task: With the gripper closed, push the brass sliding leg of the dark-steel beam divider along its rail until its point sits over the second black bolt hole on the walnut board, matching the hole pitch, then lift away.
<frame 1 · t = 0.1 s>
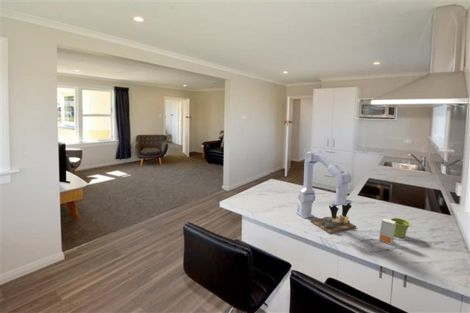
hand: (338, 217, 146), 10 cm above the countertop, fingers open, 7 cm apart
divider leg: (342, 219, 158), point 4 cm above the countertop, slide at 4.0 cm
plant pot: (398, 236, 147), on the countertop
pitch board: (332, 225, 159), on the countertop
skincare box: (385, 241, 141), on the countertop
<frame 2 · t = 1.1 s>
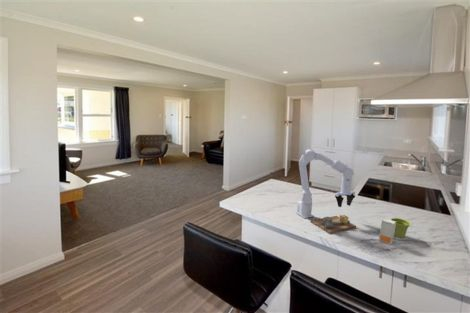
hand: (344, 205, 165), 9 cm above the countertop, fingers open, 7 cm apart
nothing on the countertop moved.
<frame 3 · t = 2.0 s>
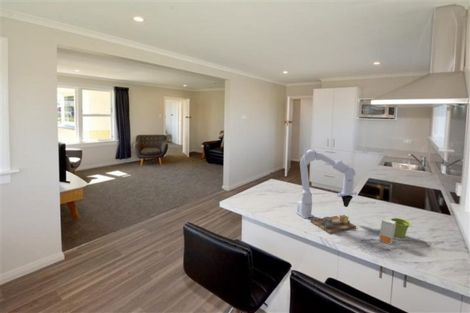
hand: (345, 206, 164), 9 cm above the countertop, fingers closed
nothing on the countertop moved.
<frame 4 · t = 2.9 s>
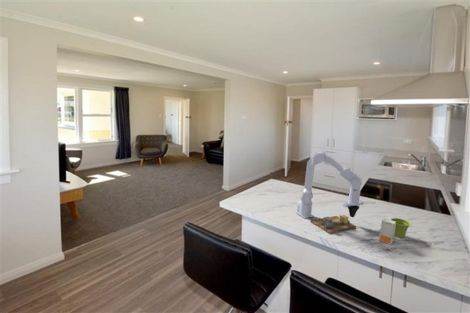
hand: (352, 216, 160), 5 cm above the countertop, fingers closed
nothing on the countertop moved.
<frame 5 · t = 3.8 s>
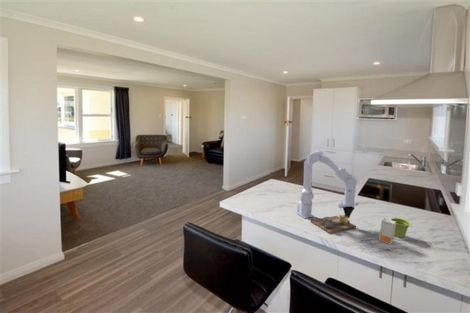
hand: (347, 217, 158), 5 cm above the countertop, fingers closed
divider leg: (342, 219, 158), point 4 cm above the countertop, slide at 3.9 cm, touching gripper
everything else where it was.
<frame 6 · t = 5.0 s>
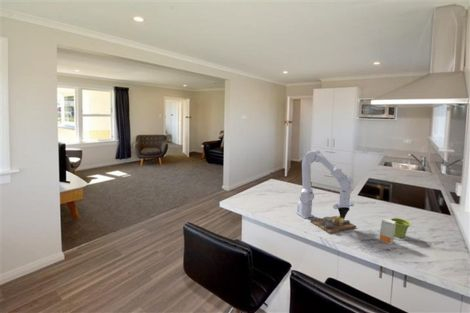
hand: (342, 218, 157), 5 cm above the countertop, fingers closed
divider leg: (337, 220, 157), point 4 cm above the countertop, slide at -0.1 cm, touching gripper
everything else where it was.
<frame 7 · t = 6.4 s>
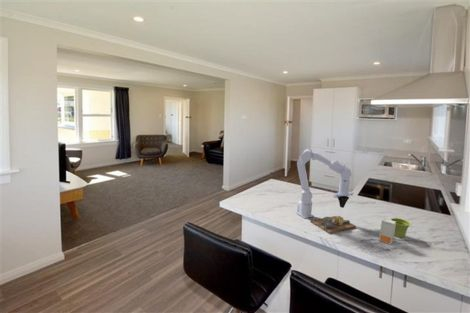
hand: (341, 207, 163), 9 cm above the countertop, fingers closed
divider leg: (337, 220, 157), point 4 cm above the countertop, slide at -0.1 cm
everything else where it was.
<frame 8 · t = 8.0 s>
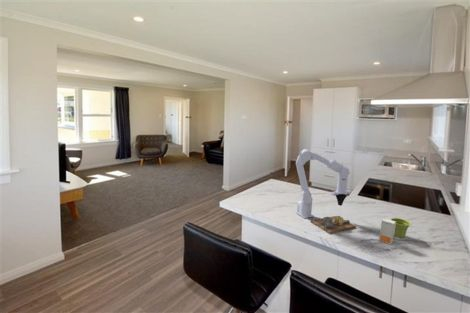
hand: (339, 205, 167), 9 cm above the countertop, fingers closed
nothing on the countertop moved.
at the end: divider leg slide at -0.1 cm; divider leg touching nothing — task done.
